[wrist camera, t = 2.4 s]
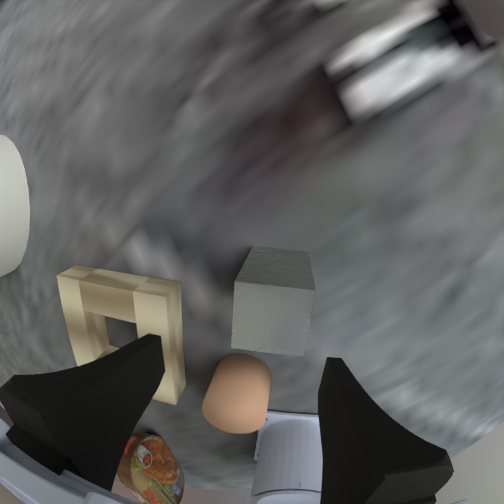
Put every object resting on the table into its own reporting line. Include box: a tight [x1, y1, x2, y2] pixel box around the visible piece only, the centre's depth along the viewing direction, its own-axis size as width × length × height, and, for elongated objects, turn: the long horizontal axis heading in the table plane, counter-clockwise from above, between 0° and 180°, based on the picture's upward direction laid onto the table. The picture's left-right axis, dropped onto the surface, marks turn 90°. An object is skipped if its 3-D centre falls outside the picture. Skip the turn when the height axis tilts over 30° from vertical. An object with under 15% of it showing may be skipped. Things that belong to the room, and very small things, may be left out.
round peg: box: [202, 354, 271, 434], centre depth 22 cm, size 5×5×5 cm
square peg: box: [231, 246, 316, 356], centre depth 18 cm, size 4×4×7 cm
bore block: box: [57, 265, 186, 405], centre depth 23 cm, size 11×11×3 cm
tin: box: [117, 432, 184, 504], centre depth 27 cm, size 15×3×8 cm, turn 8°
